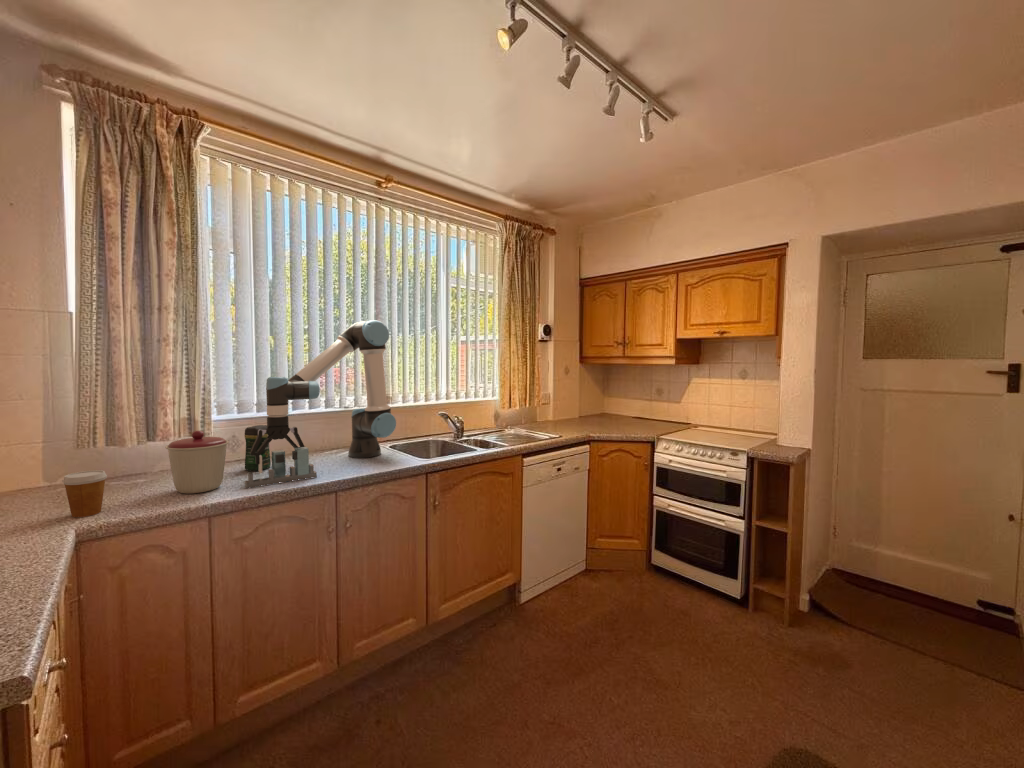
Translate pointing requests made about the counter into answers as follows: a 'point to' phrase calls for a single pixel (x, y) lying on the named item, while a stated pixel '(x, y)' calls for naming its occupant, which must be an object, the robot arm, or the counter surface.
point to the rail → (297, 472)
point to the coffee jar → (250, 439)
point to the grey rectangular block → (278, 463)
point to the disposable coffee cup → (85, 492)
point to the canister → (197, 463)
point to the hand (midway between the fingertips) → (278, 469)
